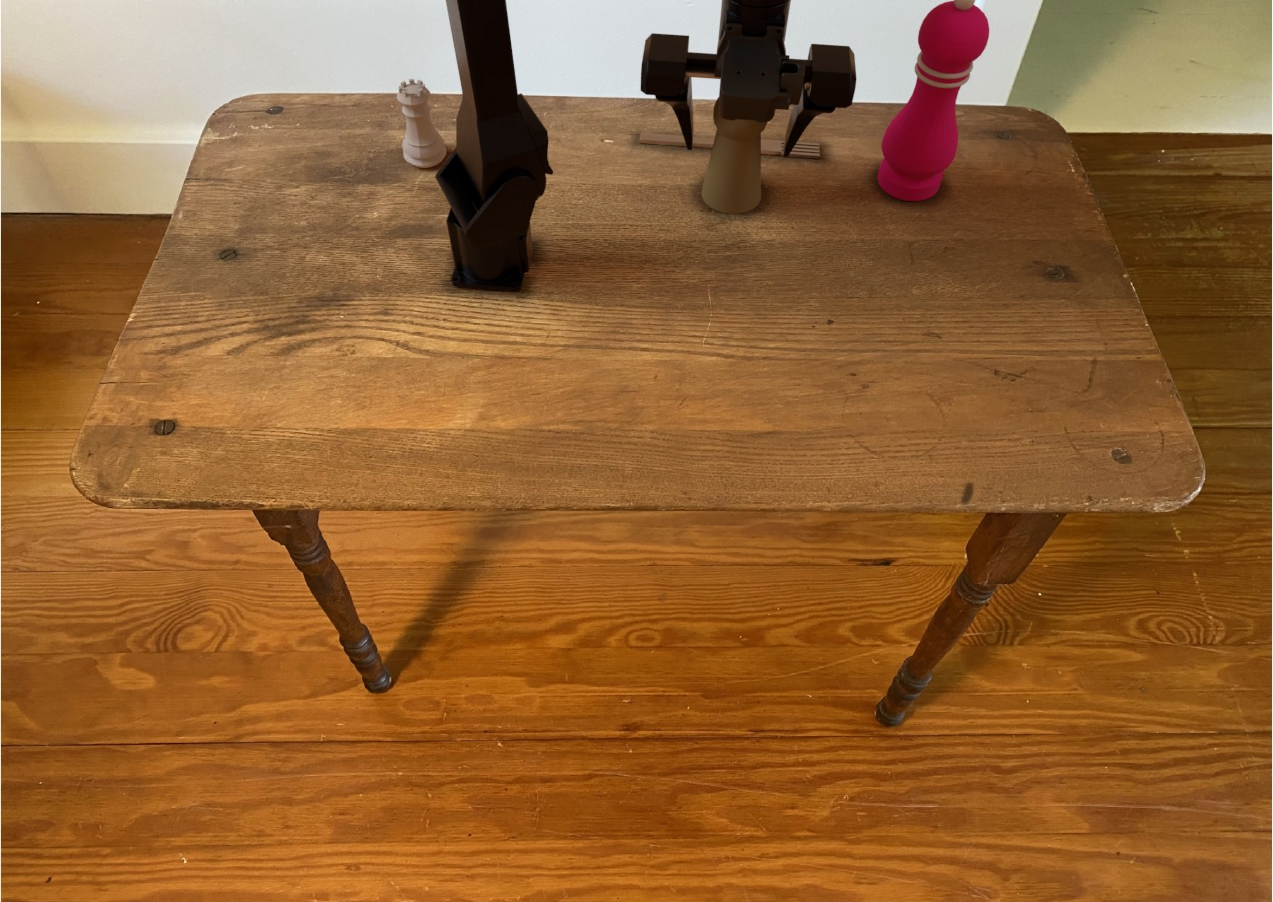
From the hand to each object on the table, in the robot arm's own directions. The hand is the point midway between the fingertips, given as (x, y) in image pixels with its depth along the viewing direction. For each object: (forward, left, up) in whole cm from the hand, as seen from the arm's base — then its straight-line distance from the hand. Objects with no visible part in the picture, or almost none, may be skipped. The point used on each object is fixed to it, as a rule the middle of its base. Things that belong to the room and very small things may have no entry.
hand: (737, 151), depth 88 cm
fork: (0, +8, -5) cm, 9 cm away
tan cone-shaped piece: (0, 0, -5) cm, 5 cm away
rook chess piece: (-32, +2, -5) cm, 32 cm away
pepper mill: (+18, +4, -5) cm, 19 cm away
